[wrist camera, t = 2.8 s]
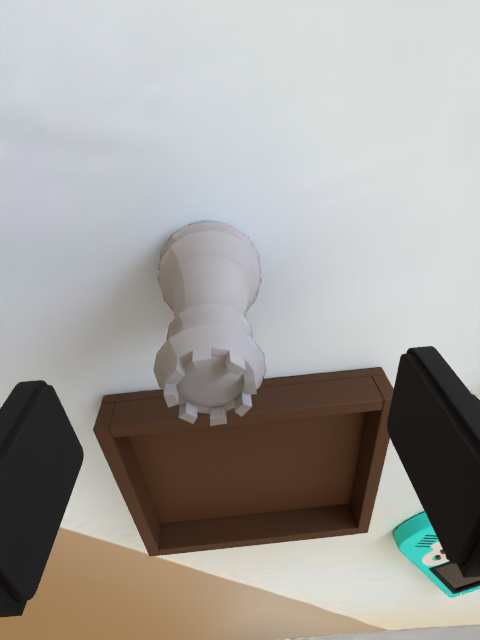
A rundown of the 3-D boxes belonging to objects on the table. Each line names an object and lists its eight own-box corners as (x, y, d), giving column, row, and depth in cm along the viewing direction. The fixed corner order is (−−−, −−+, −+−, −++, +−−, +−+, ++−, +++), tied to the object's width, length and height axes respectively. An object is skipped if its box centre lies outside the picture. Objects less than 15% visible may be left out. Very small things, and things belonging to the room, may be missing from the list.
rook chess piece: (138, 264, 16) (90, 395, 10) (211, 194, 15) (212, 292, 8) (209, 324, 18) (209, 465, 12) (279, 267, 17) (324, 393, 10)
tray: (153, 522, 28) (149, 556, 26) (103, 395, 21) (92, 429, 19) (357, 500, 28) (367, 533, 26) (381, 367, 21) (399, 398, 19)
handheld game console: (505, 479, 28) (517, 496, 27) (544, 553, 36) (555, 568, 35) (384, 527, 31) (390, 544, 30) (444, 585, 39) (451, 601, 38)
